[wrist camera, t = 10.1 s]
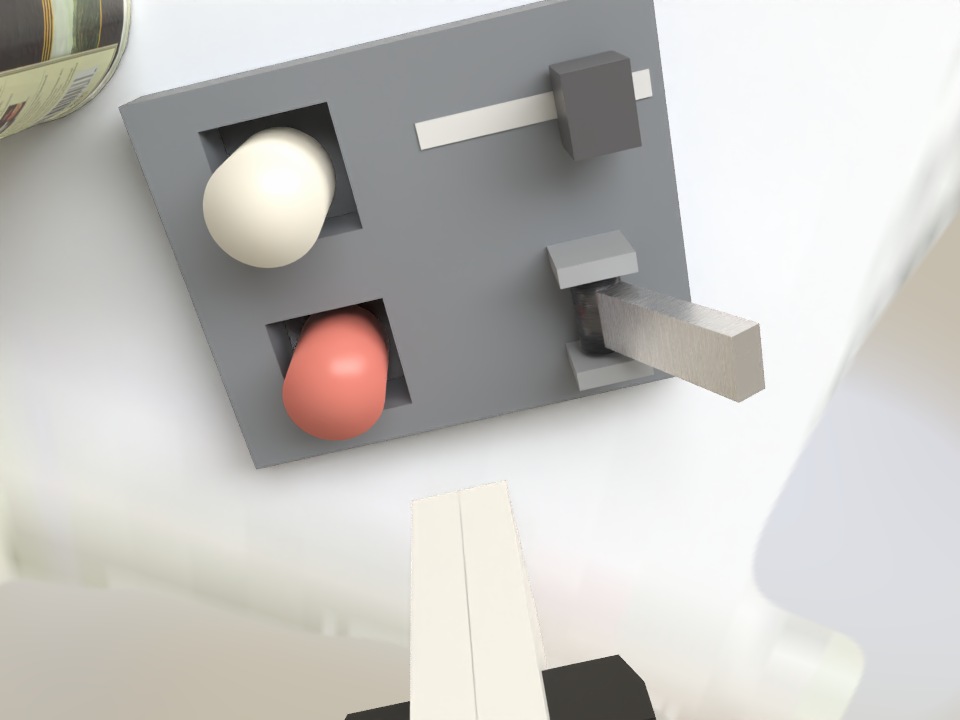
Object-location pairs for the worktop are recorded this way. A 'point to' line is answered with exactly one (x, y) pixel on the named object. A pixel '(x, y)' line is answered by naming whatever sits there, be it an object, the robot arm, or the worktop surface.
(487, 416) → the panel
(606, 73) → the slider knob
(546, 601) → the worktop surface
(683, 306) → the lever
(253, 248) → the button ivory
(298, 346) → the button red
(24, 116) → the coffee can
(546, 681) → the robot arm
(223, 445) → the worktop surface
